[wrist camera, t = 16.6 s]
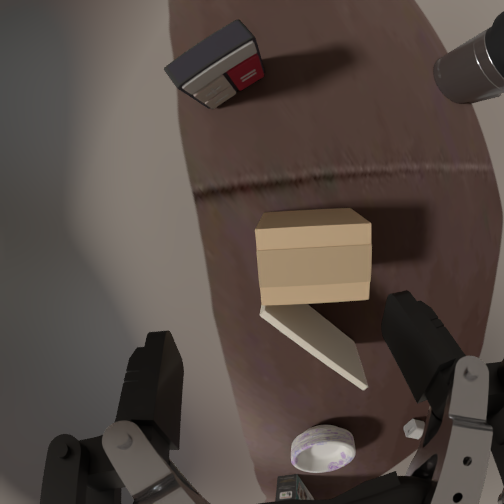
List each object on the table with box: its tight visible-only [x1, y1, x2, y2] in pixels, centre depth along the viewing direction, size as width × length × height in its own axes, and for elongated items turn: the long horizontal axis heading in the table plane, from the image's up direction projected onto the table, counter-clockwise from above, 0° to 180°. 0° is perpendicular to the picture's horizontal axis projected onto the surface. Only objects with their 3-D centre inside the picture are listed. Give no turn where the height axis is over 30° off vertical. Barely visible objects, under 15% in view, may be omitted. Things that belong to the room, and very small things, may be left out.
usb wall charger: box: [404, 419, 425, 439], centre depth 56 cm, size 4×7×4 cm, turn 64°
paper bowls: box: [291, 425, 356, 473], centre depth 57 cm, size 15×15×8 cm
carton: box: [255, 208, 372, 306], centre depth 42 cm, size 14×10×13 cm
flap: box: [260, 304, 368, 390], centre depth 45 cm, size 21×1×13 cm, turn 51°
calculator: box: [164, 20, 265, 109], centre depth 35 cm, size 11×4×15 cm, turn 123°
